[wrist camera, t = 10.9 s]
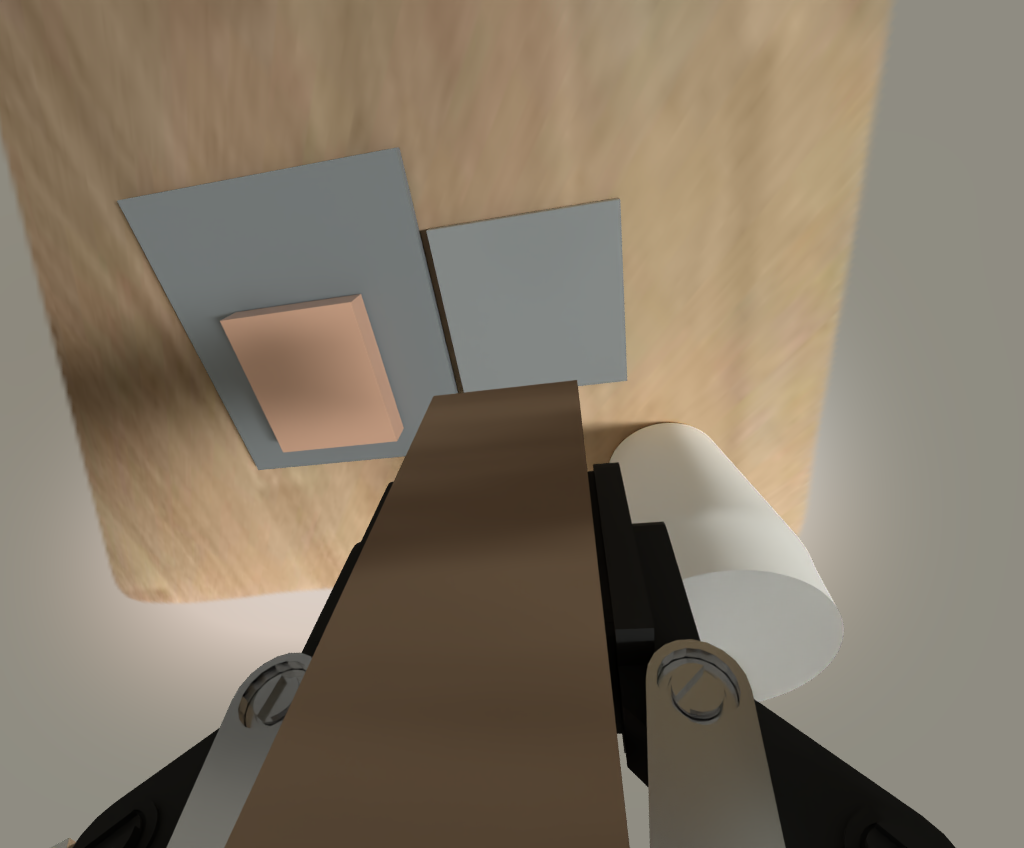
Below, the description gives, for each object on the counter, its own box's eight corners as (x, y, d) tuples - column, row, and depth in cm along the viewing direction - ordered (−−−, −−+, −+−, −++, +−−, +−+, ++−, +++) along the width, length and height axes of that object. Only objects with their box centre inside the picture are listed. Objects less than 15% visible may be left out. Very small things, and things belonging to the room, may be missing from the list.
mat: (126, 199, 23) (117, 200, 23) (399, 147, 21) (395, 147, 21) (263, 464, 31) (258, 470, 31) (470, 444, 29) (469, 450, 29)
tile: (219, 320, 24) (283, 452, 28) (350, 302, 23) (397, 441, 27) (238, 310, 25) (296, 437, 29) (362, 292, 24) (404, 426, 28)
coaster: (429, 228, 23) (426, 230, 22) (618, 197, 22) (620, 199, 21) (466, 393, 27) (465, 398, 27) (625, 375, 26) (627, 380, 26)
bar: (433, 396, 12) (-83, 1508, 2) (576, 380, 11) (729, 1733, 2) (473, 544, 14) (316, 1367, 5) (592, 536, 14) (688, 1438, 4)
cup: (643, 377, 26) (702, 530, 16) (773, 443, 28) (905, 622, 17) (562, 489, 30) (568, 667, 20) (678, 541, 32) (739, 730, 22)
